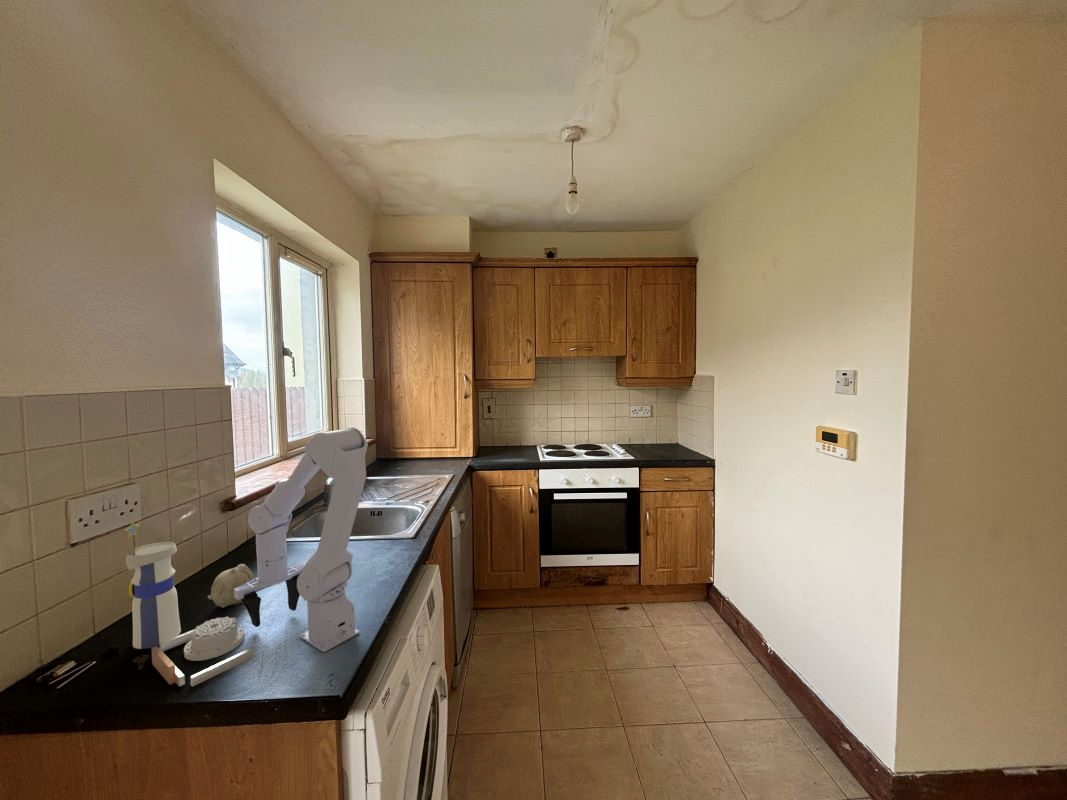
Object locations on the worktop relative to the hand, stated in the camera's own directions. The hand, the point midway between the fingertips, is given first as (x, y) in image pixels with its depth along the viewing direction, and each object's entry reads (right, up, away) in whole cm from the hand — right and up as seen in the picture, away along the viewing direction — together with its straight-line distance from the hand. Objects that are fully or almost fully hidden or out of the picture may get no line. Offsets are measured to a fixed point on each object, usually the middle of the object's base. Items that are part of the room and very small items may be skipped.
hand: (274, 616), depth 95 cm
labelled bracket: (-8, -2, -11) cm, 14 cm away
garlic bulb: (-16, -2, +9) cm, 18 cm away
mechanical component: (-8, -3, -8) cm, 11 cm away
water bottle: (-22, -2, -5) cm, 23 cm away
